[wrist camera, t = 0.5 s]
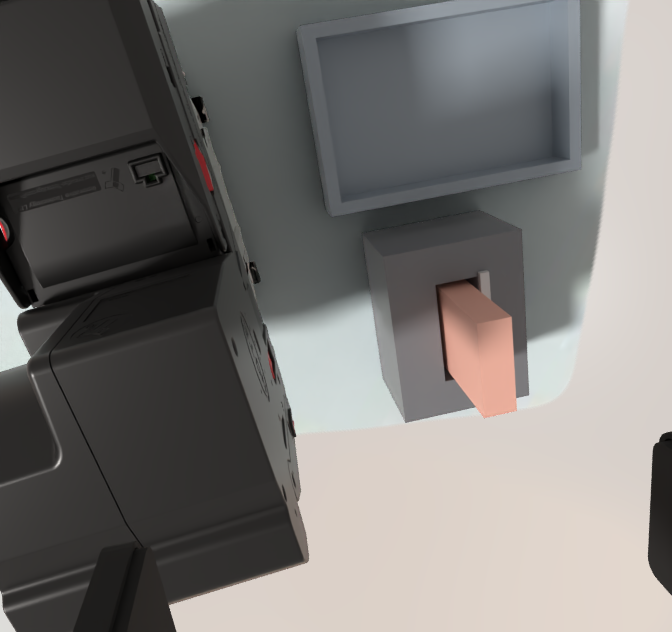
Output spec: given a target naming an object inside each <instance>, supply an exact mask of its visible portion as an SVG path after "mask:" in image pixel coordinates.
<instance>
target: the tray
mask: <svg viewBox="0 0 672 632" xmlns="http://www.w3.org/2000/svg"><path fill="white" fill-rule="evenodd" d="M296 34H297V40H298V46H299V52H300V58H301V64H302V70H303V76H304V82H305V88H306V94H307V100H308V106H309V112H310V118H311V124H312V130H313V136H314V142H315V148H316V154H317V160H318V166H319V172H320V178H321V184H322V190H323V196H324V202H325V208H326V210H327V212H328V213H329V214H330V215H331V217H335V216H340V215H345V214H351V213H356V212H361V211H366V210H371V209H377V208H382V207H387V206H392V205H398V204H403V203H408V202H413V201H418V200H424V199H429V198H434V197H439V196H445V195H450V194H455V193H460V192H466V191H471V190H476V189H481V188H486V187H492V186H497V185H502V184H507V183H513V182H518V181H523V180H528V179H533V178H539V177H544V176H549V175H554V174H560V173H565V172H570V171H575V170H580V169H581V67H580V0H453V1H447V2H441V3H435V4H429V5H422V6H416V7H410V8H404V9H398V10H392V11H386V12H379V13H373V14H367V15H361V16H355V17H349V18H343V19H336V20H330V21H324V22H318V23H312V24H306V25H300V26H299V28H298V29H297V30H296Z"/></svg>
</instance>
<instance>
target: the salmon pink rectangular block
mask: <svg viewBox="0 0 672 632" xmlns="http://www.w3.org/2000/svg"><path fill="white" fill-rule="evenodd" d="M435 287H436V296H437V306H438V316H439V325H440V335H441V345H442V354H443V364H444V366H445V368H446V369H447V370H448V371H449V373H450V374H451V375H452V377H453V378H454V379H455V381H456V382H457V383H458V385H459V386H460V387H461V388H462V390H463V391H464V392H465V394H466V395H467V396H468V398H469V399H470V400H471V401H472V403H473V404H474V405H475V407H476V408H477V409H478V411H479V412H480V413H481V415H482V416H483V417H484V418H487V417H491V416H496V415H500V414H505V413H509V412H514V411H517V405H516V387H515V368H514V350H513V332H512V317H511V316H510V315H509V314H508V313H506V312H505V311H504V310H503V309H501V308H500V307H499V306H498V305H496V304H495V303H494V302H493V301H491V300H490V299H489V298H488V297H486V296H485V295H484V294H483V293H481V292H480V291H479V290H478V289H476V288H475V287H474V286H473V285H471V284H470V283H469V282H468V281H466V280H465V279H462V280H457V281H453V282H448V283H443V284H438V285H435Z"/></svg>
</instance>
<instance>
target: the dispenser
mask: <svg viewBox="0 0 672 632" xmlns="http://www.w3.org/2000/svg"><path fill="white" fill-rule="evenodd" d="M362 239H363V246H364V253H365V260H366V267H367V274H368V280H369V287H370V294H371V301H372V308H373V314H374V321H375V328H376V335H377V342H378V348H379V355H380V362H381V369H382V376H383V380H384V382H385V383H386V385H387V387H388V389H389V391H390V393H391V395H392V397H393V399H394V401H395V403H396V405H397V407H398V409H399V411H400V413H401V415H402V417H403V419H404V421H405V423H407V422H411V421H416V420H420V419H425V418H429V417H434V416H438V415H442V414H447V413H451V412H456V411H460V410H465V409H469V408H474V407H475V405H474V404H473V403H472V401H471V400H470V399H469V398H468V396H467V395H466V394H465V392H464V391H463V390H462V388H461V387H460V386H459V385H458V383H457V382H456V381H455V379H454V378H453V377H452V375H451V374H450V373H449V371H448V370H447V369H446V368H445V366H444V364H443V354H442V345H441V335H440V325H439V316H438V306H437V296H436V287H435V285H438V284H443V283H448V282H453V281H457V280H462V279H465V280H466V281H468V282H469V283H470V284H471V285H473V286H474V287H475V288H476V289H478V290H479V291H480V292H481V293H483V294H484V295H485V296H486V297H488V298H489V299H490V300H491V301H493V302H494V303H495V304H496V305H498V306H499V307H500V308H501V309H503V310H504V311H505V312H506V313H508V314H509V315H510V316H511V317H512V332H513V350H514V368H515V387H516V398H519V397H523V396H527V395H529V383H528V361H527V339H526V317H525V295H524V273H523V251H522V229H519V228H517V227H515V226H513V225H511V224H509V223H506V222H504V221H502V220H500V219H498V218H496V217H493V216H491V215H489V214H487V213H485V212H482V211H480V210H478V211H473V212H468V213H463V214H458V215H453V216H448V217H442V218H437V219H432V220H427V221H422V222H417V223H412V224H406V225H401V226H396V227H391V228H386V229H381V230H376V231H370V232H365V233H362Z"/></svg>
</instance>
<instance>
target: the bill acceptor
mask: <svg viewBox="0 0 672 632" xmlns="http://www.w3.org/2000/svg"><path fill="white" fill-rule="evenodd" d="M185 76H186V74H185V72H183V71H182V68H181V65H180V63H179V60H178V57H177V54H176V51H175V48H174V45H173V41H172V38H171V35H170V32H169V29H168V26H167V23H166V20H165V17H164V14H163V11H162V8H160V7H159V6H158V5H157V4H156V3H155V2H154V1H153V0H0V226H1V228H2V231H3V233H2V231H1V228H0V279H1V281H2V282H3V284H4V285H5V287H6V288H7V290H8V291H9V293H10V294H11V296H12V297H13V299H14V300H15V302H16V303H17V305H18V306H19V307H20V308H22V309H26V308H28V307H29V306H30V305H32V307H33V308H34V309H31V310H27V311H25V312H23V313H21V314H20V315H19V316H18V319H17V326H18V331H19V333H20V336H21V338H22V340H23V342H24V344H25V346H26V348H27V350H28V352H29V354H30V356H31V358H30V359H29V361H28V363H27V364H25V365H22V366H18V367H15V368H12V369H9V370H5V371H2V372H0V591H1V593H2V601H3V602H2V603H3V610H4V613H5V614H6V616H7V618H8V619H9V621H10V622H11V624H12V626H13V627H14V629H15V631H16V632H73V629H74V626H75V623H76V621H77V618H78V615H79V612H80V609H81V606H82V603H83V600H84V598H85V595H86V592H87V589H88V586H89V583H90V580H91V577H92V575H93V572H94V569H95V566H96V563H97V560H98V557H99V555H100V552H101V550H102V549H103V548H104V547H107V546H112V545H117V544H122V543H127V542H131V541H138V542H139V543H140V545H141V548H145V547H151V549H152V551H153V554H154V557H155V560H156V564H157V567H158V571H159V574H160V577H161V581H162V584H163V588H164V591H165V595H166V598H167V601H168V605H171V604H174V603H177V602H180V601H183V600H187V599H190V598H193V597H197V596H200V595H203V594H207V593H210V592H213V591H216V590H220V589H223V588H226V587H230V586H233V585H236V584H239V583H242V582H246V581H249V580H252V579H256V578H258V577H262V576H265V575H268V574H272V573H275V572H278V571H282V570H285V569H288V568H292V567H295V566H298V565H301V564H305V563H307V562H308V561H309V553H308V546H307V537H306V532H305V528H304V524H303V521H302V517H301V514H300V511H299V507H298V503H297V502H298V501H299V497H300V492H301V488H300V480H299V472H298V464H297V456H296V448H295V439H294V437H296V433H295V429H294V421H292V413H291V408H290V405H289V402H288V399H287V398H286V393H285V387H284V384H283V381H282V377H281V373H280V370H279V367H278V364H277V361H276V358H275V352H274V348H273V346H272V344H271V341H270V338H269V334H268V330H267V327H266V325H265V324H264V323H263V320H262V317H261V314H260V311H259V308H258V303H257V298H256V293H255V289H254V284H255V283H259V282H260V276H259V273H258V270H257V267H256V264H255V261H252V262H249V257H248V254H247V251H246V248H245V245H244V244H243V240H242V235H241V228H240V226H238V223H237V220H236V217H235V214H234V211H233V207H232V204H231V201H230V199H229V198H228V193H227V189H226V186H225V183H224V180H223V177H222V173H221V166H220V164H218V161H217V158H216V155H215V152H214V151H213V148H212V143H211V140H210V136H209V133H208V130H207V127H206V128H203V126H202V123H206V122H209V117H208V114H207V111H206V108H205V105H204V101H203V98H202V97H200V96H199V97H195V98H192V99H190V97H189V94H188V91H187V88H186V85H187V83H186V80H185V78H184V77H185ZM3 234H4V235H3ZM35 307H37V308H35Z"/></svg>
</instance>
